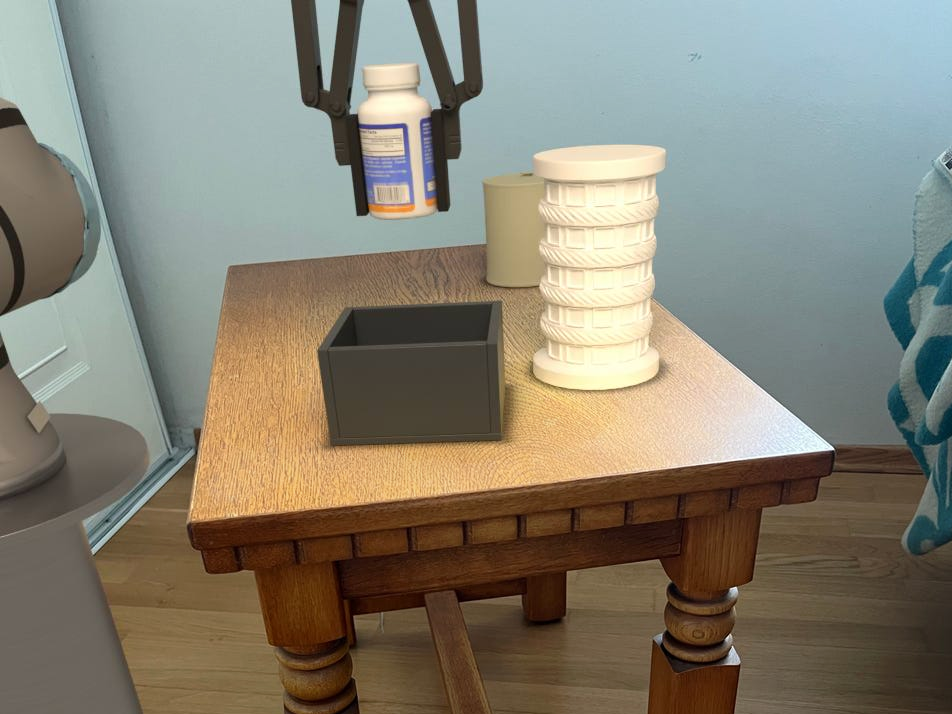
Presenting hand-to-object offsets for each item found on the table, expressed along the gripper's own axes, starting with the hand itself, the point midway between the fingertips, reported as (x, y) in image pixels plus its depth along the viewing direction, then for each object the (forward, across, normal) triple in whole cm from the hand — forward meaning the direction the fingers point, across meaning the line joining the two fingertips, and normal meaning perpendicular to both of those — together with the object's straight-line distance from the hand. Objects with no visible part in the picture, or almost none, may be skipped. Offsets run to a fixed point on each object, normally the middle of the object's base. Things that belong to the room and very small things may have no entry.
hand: (404, 210), depth 71 cm
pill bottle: (+1, 0, 0) cm, 1 cm away
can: (+16, -8, -47) cm, 51 cm away
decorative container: (+16, -15, -10) cm, 24 cm away
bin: (+16, 0, 0) cm, 16 cm away
